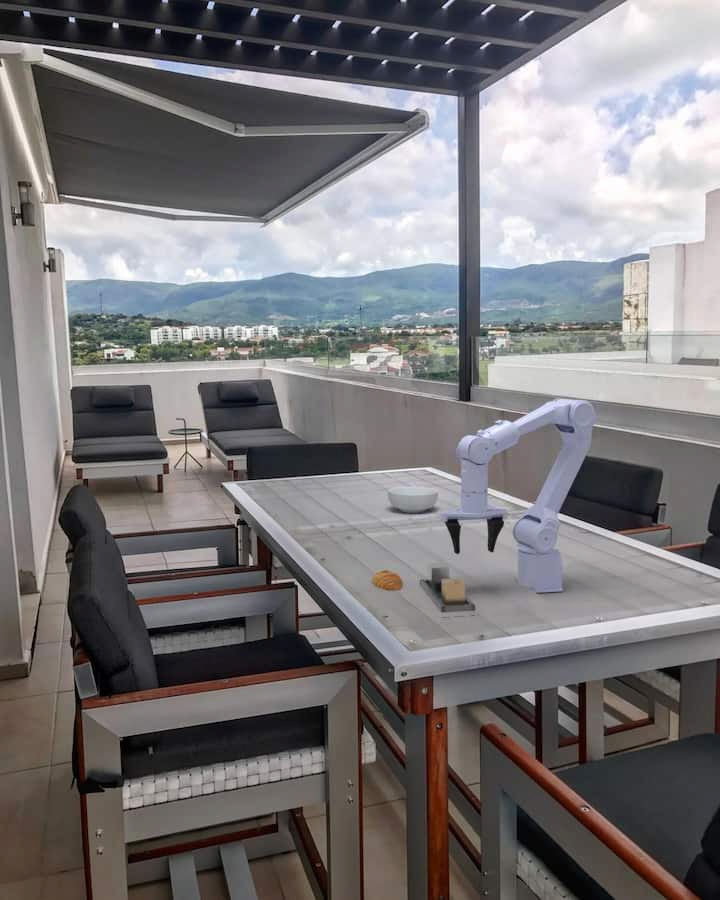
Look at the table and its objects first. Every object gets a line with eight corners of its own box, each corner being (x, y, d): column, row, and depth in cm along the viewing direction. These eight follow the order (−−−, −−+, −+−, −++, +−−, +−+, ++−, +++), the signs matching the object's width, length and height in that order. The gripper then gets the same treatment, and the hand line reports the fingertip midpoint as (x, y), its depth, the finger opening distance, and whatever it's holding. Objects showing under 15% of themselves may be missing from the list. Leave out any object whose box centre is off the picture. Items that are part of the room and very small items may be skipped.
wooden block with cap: (458, 599, 174) (458, 576, 173) (464, 607, 169) (465, 583, 168) (439, 599, 174) (440, 577, 173) (445, 608, 168) (446, 584, 167)
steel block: (444, 584, 185) (444, 562, 184) (450, 591, 180) (451, 569, 179) (427, 585, 184) (427, 563, 184) (433, 592, 179) (433, 569, 178)
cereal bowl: (422, 517, 263) (422, 496, 262) (378, 512, 272) (378, 491, 271) (446, 508, 277) (446, 488, 276) (404, 504, 286) (404, 484, 285)
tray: (449, 587, 186) (449, 578, 186) (475, 615, 167) (475, 605, 166) (419, 589, 185) (419, 579, 185) (441, 617, 166) (441, 607, 165)
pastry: (409, 595, 182) (409, 578, 181) (380, 598, 180) (380, 581, 180) (396, 583, 191) (396, 567, 190) (368, 586, 189) (368, 570, 188)
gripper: (500, 486, 182) (499, 546, 184) (437, 489, 180) (437, 549, 182) (511, 492, 175) (510, 553, 177) (445, 494, 173) (445, 557, 175)
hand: (473, 552), depth 179 cm, fingers open, 7 cm apart
